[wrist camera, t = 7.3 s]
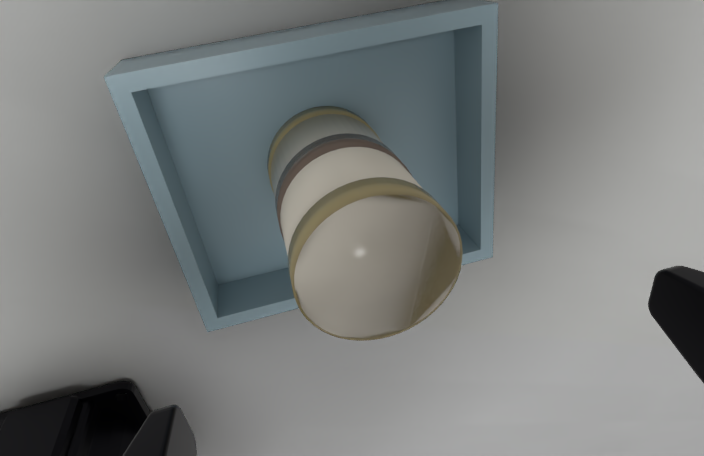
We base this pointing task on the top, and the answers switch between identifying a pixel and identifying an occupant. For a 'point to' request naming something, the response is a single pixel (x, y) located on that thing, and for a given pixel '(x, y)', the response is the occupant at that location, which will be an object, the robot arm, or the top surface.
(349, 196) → the fuse
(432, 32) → the tray
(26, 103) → the top surface
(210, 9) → the top surface
